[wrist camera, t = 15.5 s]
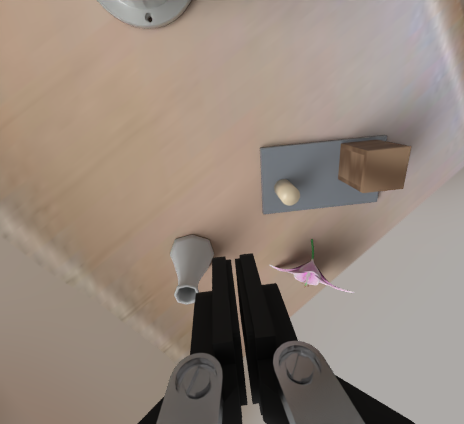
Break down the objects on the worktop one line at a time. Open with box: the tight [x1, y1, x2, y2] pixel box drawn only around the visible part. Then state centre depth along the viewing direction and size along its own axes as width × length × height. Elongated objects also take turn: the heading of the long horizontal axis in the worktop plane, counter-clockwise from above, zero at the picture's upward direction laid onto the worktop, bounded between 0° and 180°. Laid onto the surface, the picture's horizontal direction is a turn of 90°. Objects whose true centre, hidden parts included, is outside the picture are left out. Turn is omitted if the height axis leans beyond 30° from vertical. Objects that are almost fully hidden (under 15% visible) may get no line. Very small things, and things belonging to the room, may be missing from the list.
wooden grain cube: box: [338, 140, 411, 193], centre depth 33 cm, size 5×5×7 cm
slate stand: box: [260, 135, 387, 214], centre depth 35 cm, size 10×18×5 cm, turn 95°
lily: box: [270, 239, 353, 293], centre depth 40 cm, size 12×12×10 cm
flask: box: [170, 235, 214, 304], centre depth 36 cm, size 7×7×10 cm
